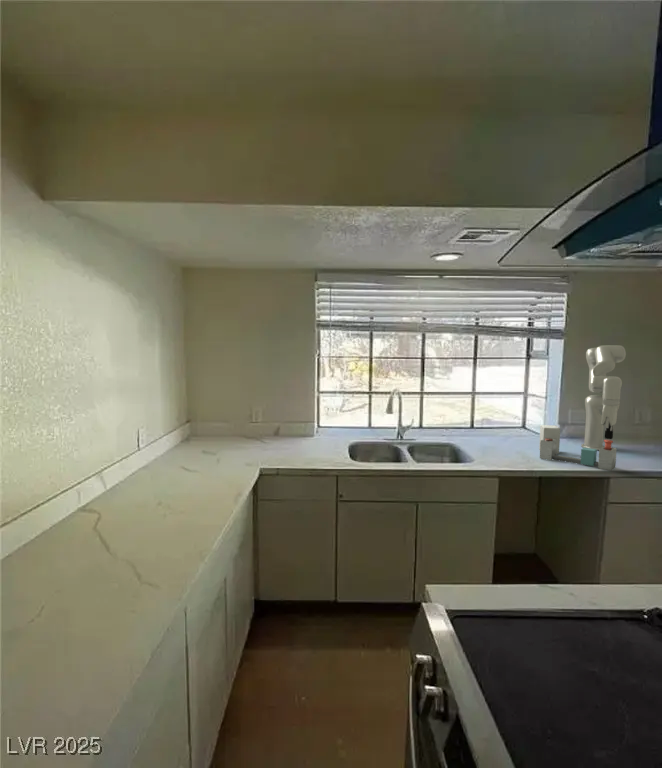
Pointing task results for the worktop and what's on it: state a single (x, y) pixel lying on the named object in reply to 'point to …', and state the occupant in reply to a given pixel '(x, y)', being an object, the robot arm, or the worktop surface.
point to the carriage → (588, 456)
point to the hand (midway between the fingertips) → (608, 438)
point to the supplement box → (550, 434)
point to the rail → (571, 460)
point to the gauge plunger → (608, 444)
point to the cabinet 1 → (548, 448)
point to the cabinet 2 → (607, 458)
